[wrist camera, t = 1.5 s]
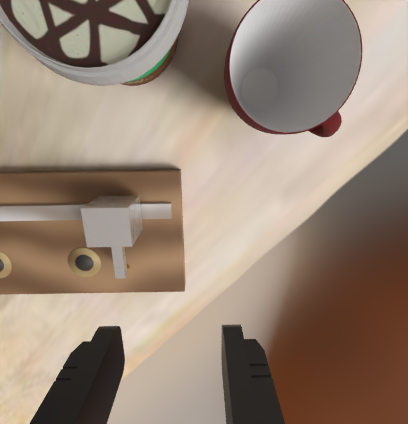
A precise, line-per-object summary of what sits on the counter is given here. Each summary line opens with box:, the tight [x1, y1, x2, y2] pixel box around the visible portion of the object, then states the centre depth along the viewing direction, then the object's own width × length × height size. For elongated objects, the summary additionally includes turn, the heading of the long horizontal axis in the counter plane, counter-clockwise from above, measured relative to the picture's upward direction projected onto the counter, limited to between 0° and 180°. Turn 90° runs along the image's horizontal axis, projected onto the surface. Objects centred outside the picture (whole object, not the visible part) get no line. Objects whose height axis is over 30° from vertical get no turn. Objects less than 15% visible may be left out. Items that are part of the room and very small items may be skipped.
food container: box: [0, 0, 189, 86], centre depth 19 cm, size 12×6×10 cm, turn 97°
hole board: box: [0, 169, 185, 294], centre depth 26 cm, size 14×24×6 cm, turn 91°
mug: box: [224, 0, 362, 137], centre depth 20 cm, size 10×8×10 cm
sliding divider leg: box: [80, 196, 143, 279], centre depth 25 cm, size 8×4×4 cm, turn 1°
